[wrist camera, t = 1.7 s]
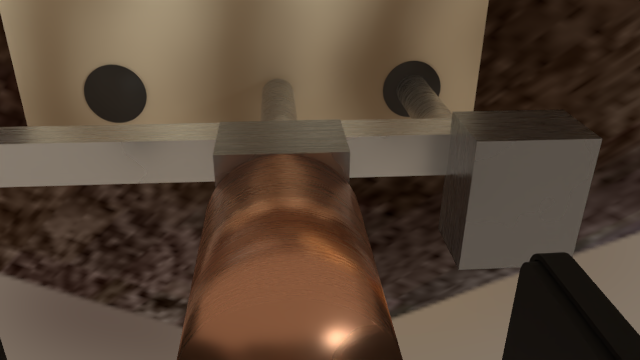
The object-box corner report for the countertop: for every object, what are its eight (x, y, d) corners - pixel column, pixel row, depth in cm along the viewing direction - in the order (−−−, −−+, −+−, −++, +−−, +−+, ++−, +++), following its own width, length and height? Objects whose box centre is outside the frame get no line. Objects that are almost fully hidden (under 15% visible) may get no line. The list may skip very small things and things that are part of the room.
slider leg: (319, 29, 24) (414, 294, 8) (319, 110, 25) (397, 462, 10) (232, 29, 23) (158, 306, 8) (237, 112, 25) (184, 477, 9)
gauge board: (492, -154, 23) (511, -158, 21) (457, 121, 29) (470, 138, 27) (-18, -162, 22) (-45, -167, 20) (48, 130, 27) (31, 147, 25)
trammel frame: (462, 25, 24) (622, 138, 13) (452, 105, 26) (588, 264, 15) (17, 29, 23) (-217, 158, 12) (36, 112, 25) (-154, 294, 14)
